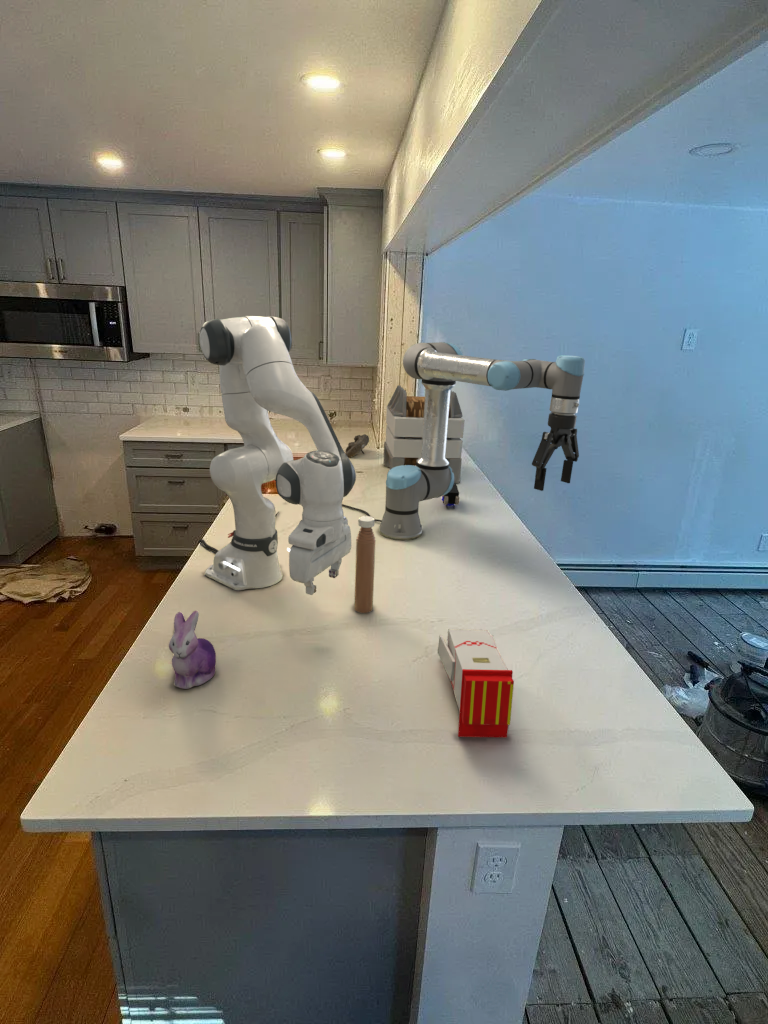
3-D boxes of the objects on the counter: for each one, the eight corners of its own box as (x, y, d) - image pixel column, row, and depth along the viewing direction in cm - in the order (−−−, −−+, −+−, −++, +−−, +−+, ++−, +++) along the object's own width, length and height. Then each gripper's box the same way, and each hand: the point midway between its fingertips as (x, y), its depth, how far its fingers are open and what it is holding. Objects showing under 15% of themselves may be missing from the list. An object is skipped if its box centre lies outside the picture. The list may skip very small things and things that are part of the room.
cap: (362, 528, 139) (362, 522, 138) (355, 523, 142) (355, 517, 142) (377, 526, 141) (377, 520, 140) (369, 521, 144) (370, 515, 144)
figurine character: (459, 513, 226) (454, 497, 240) (461, 496, 223) (456, 481, 236) (442, 513, 226) (439, 497, 239) (444, 496, 222) (440, 480, 236)
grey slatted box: (382, 463, 289) (386, 382, 275) (445, 464, 293) (451, 384, 279) (390, 482, 257) (394, 392, 243) (460, 483, 261) (468, 394, 247)
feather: (286, 506, 225) (288, 502, 225) (268, 529, 199) (271, 525, 198) (282, 503, 225) (284, 499, 225) (264, 526, 199) (267, 522, 198)
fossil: (345, 440, 315) (366, 425, 310) (356, 453, 318) (377, 439, 313) (338, 454, 296) (361, 438, 291) (350, 468, 298) (372, 452, 293)
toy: (488, 613, 130) (523, 677, 101) (484, 667, 133) (517, 744, 104) (435, 612, 130) (455, 676, 101) (432, 666, 133) (451, 743, 103)
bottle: (359, 614, 146) (362, 524, 138) (351, 605, 150) (353, 518, 142) (375, 610, 149) (379, 522, 140) (367, 602, 153) (370, 515, 144)
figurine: (175, 696, 113) (169, 631, 108) (168, 668, 121) (161, 606, 116) (223, 684, 117) (219, 621, 112) (213, 658, 126) (208, 598, 120)
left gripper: (335, 510, 132) (334, 564, 137) (283, 539, 115) (284, 600, 120) (358, 515, 130) (357, 570, 134) (309, 545, 112) (309, 607, 117)
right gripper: (548, 419, 148) (537, 496, 155) (598, 411, 163) (586, 482, 171) (525, 414, 153) (515, 489, 160) (575, 407, 169) (564, 476, 176)
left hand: (322, 584), depth 127 cm, fingers open, 8 cm apart
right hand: (552, 485), depth 166 cm, fingers open, 13 cm apart
